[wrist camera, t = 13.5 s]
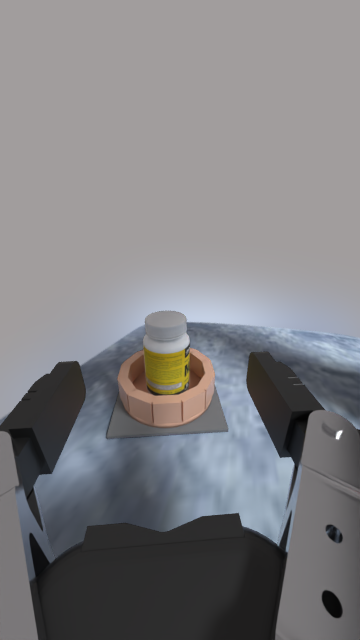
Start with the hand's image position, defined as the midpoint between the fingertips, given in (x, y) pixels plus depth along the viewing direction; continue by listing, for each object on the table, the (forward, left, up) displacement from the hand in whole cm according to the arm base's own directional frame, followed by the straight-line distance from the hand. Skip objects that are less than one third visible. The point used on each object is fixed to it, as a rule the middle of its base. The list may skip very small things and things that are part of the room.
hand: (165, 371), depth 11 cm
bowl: (0, -11, -11) cm, 16 cm away
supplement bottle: (0, -11, -10) cm, 15 cm away
